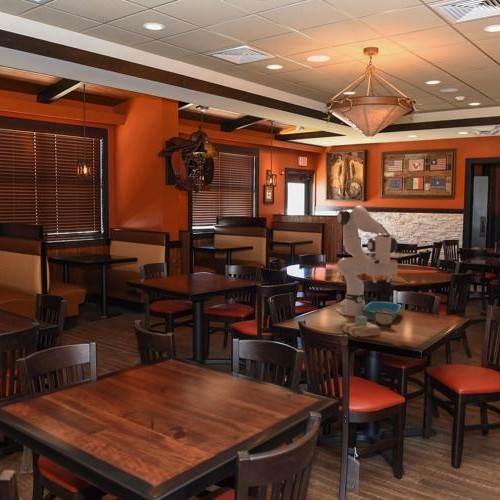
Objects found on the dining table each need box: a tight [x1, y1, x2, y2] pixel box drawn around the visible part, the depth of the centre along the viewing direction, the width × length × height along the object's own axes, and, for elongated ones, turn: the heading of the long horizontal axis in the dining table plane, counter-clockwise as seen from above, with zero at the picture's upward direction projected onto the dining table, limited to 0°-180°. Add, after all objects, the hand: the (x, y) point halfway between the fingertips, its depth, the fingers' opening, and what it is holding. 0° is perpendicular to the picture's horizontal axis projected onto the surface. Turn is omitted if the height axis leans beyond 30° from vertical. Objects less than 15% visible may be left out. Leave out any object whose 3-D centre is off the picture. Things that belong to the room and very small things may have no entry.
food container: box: [374, 310, 394, 329], centre depth 342 cm, size 12×6×10 cm, turn 59°
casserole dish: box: [363, 301, 402, 322], centre depth 370 cm, size 37×22×7 cm, turn 158°
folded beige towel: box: [341, 321, 381, 338], centre depth 328 cm, size 16×16×5 cm
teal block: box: [354, 315, 368, 326], centre depth 327 cm, size 5×5×5 cm
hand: (381, 282), depth 338 cm, fingers open, 8 cm apart
